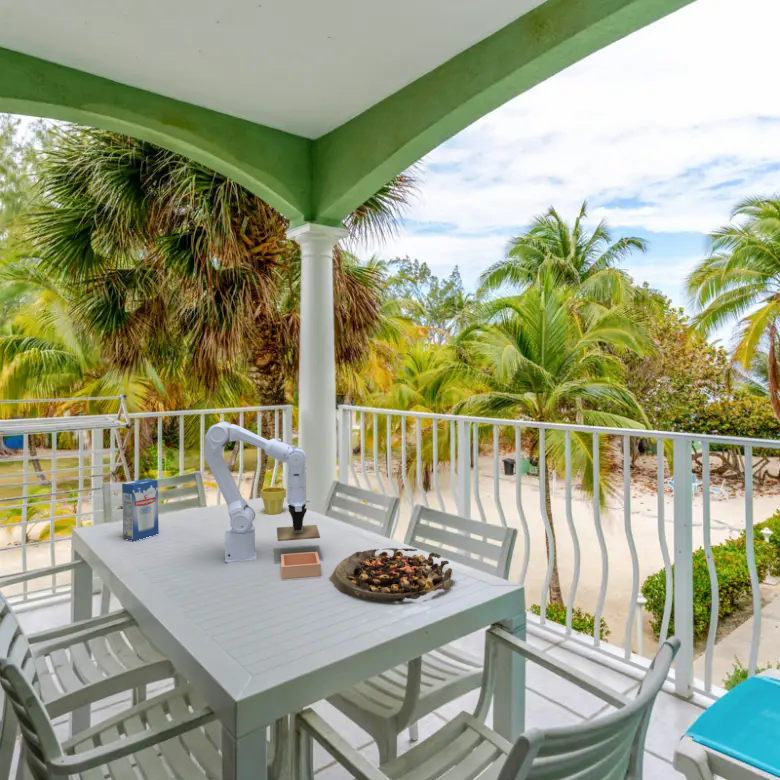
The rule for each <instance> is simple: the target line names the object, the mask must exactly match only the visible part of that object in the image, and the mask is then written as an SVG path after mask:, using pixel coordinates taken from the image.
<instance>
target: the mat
mask: <svg viewBox="0 0 780 780" xmlns="http://www.w3.org/2000/svg"><path fill="white" fill-rule="evenodd" d="M306 552H317V553H318V556H319V560H320V562H321V561H324V558H323V555H322V552H321V547H320V545H319V544H318V545H306V546H305V545H304V546H303V545H302V546H291V547H290V546H289V547H275V548H274V547H273V561H274V562H273V563H274V565H281V554H293V553H306Z"/></svg>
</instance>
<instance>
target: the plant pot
mask: <svg viewBox="0 0 780 780" xmlns="http://www.w3.org/2000/svg"><path fill="white" fill-rule="evenodd" d="M286 497H287V489H286V488H285V487H281V486H269V487H264V488H262V489H261V490H260V498H261V499H262V502H263V505H264V512H265V514H267V515H278V514H281V513H282V510H283V507H284V501H285V498H286Z"/></svg>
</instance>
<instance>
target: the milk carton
mask: <svg viewBox="0 0 780 780" xmlns="http://www.w3.org/2000/svg"><path fill="white" fill-rule="evenodd" d="M158 483H159V482H158V479H153V478H143V479H142V478H141V479H138V480H134V481H128V482H127V481H126V482H122V483H121V484H122V485H121V487H122V489H121V491H122V530H123V531H122V534H123V535H122V538H125V539H128V540H127V541H129V540H132V541H131V542H133V541H135V542H137V541H136V540H139V539H142V540H144V539H143V538H146V537H149V536H152V537H154V536H153V535H156V534H159V533H160V531H159V491H158V490H159V489H158V488H159V485H158ZM156 536H157V535H156ZM149 538H150V537H149ZM125 539H124V540H125ZM146 539H147V538H146ZM139 541H140V540H139Z"/></svg>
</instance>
